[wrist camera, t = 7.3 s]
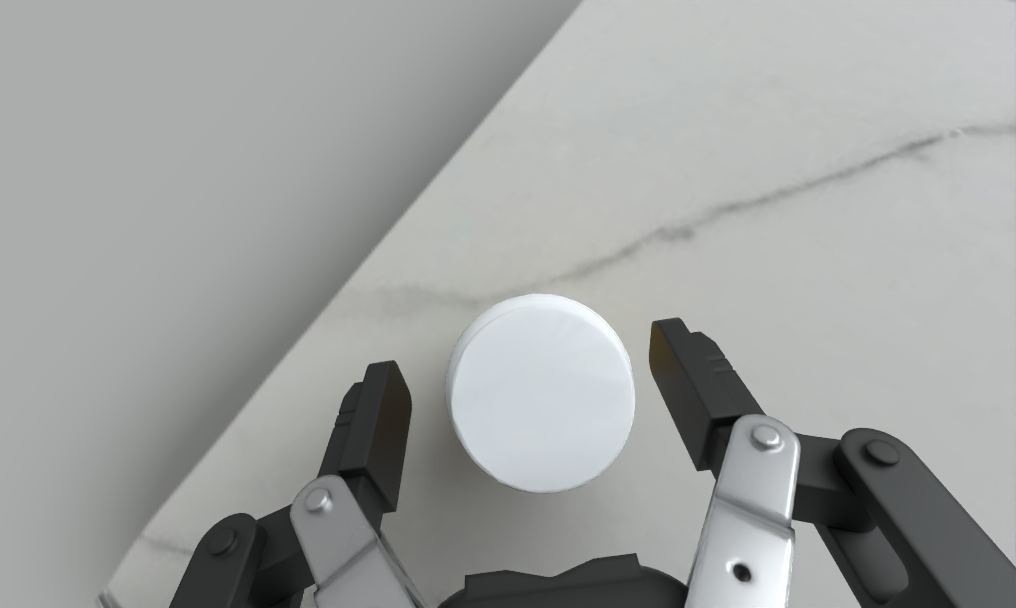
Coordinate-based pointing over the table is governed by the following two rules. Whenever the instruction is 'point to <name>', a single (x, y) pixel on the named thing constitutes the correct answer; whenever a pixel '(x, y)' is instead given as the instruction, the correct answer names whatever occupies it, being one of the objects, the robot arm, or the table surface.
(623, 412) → the supplement bottle
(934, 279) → the table surface
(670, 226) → the table surface
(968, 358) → the table surface
